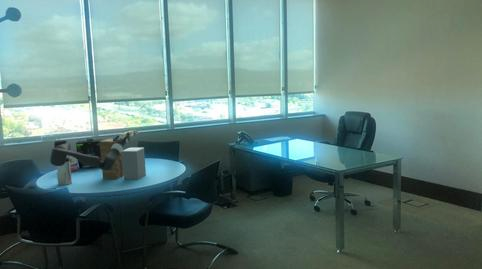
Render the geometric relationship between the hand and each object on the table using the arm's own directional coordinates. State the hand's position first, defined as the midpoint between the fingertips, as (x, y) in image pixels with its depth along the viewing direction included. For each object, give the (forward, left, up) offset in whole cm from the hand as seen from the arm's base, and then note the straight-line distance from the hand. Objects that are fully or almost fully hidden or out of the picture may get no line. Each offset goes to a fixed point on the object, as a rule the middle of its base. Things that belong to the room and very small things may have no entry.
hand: (126, 133), depth 289 cm
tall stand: (+10, +18, -37) cm, 42 cm away
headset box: (+44, +57, -37) cm, 81 cm away
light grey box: (+10, 0, -37) cm, 38 cm away
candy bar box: (+26, +67, -37) cm, 81 cm away
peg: (+4, 0, -3) cm, 5 cm away
